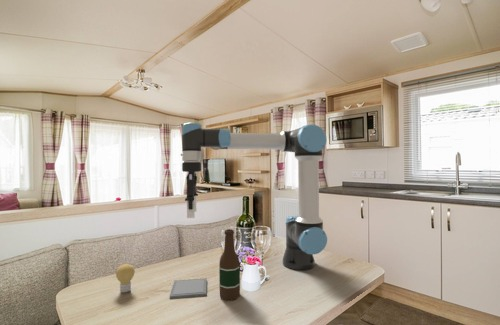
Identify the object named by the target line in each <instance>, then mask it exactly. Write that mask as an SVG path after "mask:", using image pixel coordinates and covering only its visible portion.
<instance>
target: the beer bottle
mask: <svg viewBox="0 0 500 325" xmlns="http://www.w3.org/2000/svg"><path fill="white" fill-rule="evenodd" d="M223 233H224V247H223V248H224V249H223V252H222V253H221V255H220V257H219V280H218V281H219V296H220V300H224V301H227V302H228V301H229V302H230V301H235V300H236V299H238V298H239V297H240V296H241V265H240V260H239V256H238V254H237V253H236V249H235V239H234V238H235V236H234V235H235V230H234V229H232V228H231V229H225V230H224V232H223Z"/></svg>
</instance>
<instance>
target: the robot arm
mask: <svg viewBox="0 0 500 325" xmlns="http://www.w3.org/2000/svg"><path fill="white" fill-rule="evenodd" d="M181 128H182V130H181V132H182V133H181V151H182V153H180V156H181V157H182V158H181V159H182V164H181V167H182V168H181V171H182V172H183V173H185V172H188V174H187V175H186V179H185V180H186V197H185V198H184V201H185V202H186V218H187V219H195V212H197V197H198V196H199V193H197V183H198V182H197V180H198V176H197V173H198V172H199V173H200V172H201V171H202V162H201V161H202V148H210V149H211V150H215V151H217V150H218V151H219V150H279V151H281V152H285V153H286V152H287V153H294V158H295V159H296V160H297V162H298V163H297V164H298V165H297V166H298V174H297V175H298V176H297V177H298V178H297V179H298V215H290V216H287V217H286V219H285V237H286V238H285V244H286V245H285V250H284V253H283V257H282V265H283V266H284V267H286V268H287V269H291V270H294V271H295V270H296V271H306V270H311V269H313V268H314V267H315V262H316V261H315V258H314V255H318V254H320V253H321V252H322V251H323V250H325V248H326V247H327V244H328V236H327V234H326V232H325V230H324V221H323V219H322V218H321V217H320V190H319V188H320V180H319V179H320V177H319V176H320V175H319V174H320V173H319V170H320V165H319V163H320V162H319V161H320V159H321V158H323V149H324V148H325V146H326V144H327V135H326V134H327V133H326V132H325V131H324V129H323V128H321V126H319V125H316V124H314V123H313V124H305V125H303V126H301V127H298V128H297V129H294V130H286V131H285V130H284V131H281V132H279V133H271V132H270V133H269V132H268V133H266V132H264V133H263V132H262V133H259V132H256V133H255V132H252V133H251V132H231V130H230V129H226V128H225V129H224V128H203V127H202V125H201V124H200V123H197V122H186V123H184V124H183V125H182V127H181ZM196 172H197V173H196Z"/></svg>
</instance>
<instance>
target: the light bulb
mask: <svg viewBox="0 0 500 325" xmlns="http://www.w3.org/2000/svg"><path fill="white" fill-rule="evenodd" d="M135 273H136V270H135V268H134V266H133V265H132V264H128V263H126V264H122V265H120V266H119V267H118V268H117V270H116V272H115V276H116V279H117V280H118V281H119V283H120V284H119V288H120V289H119V292H121V293H124V294H125V293H128V292H130V290H132V285H131V284H132V282H131V281H132V279H133V277H134V276H135Z"/></svg>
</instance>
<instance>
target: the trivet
mask: <svg viewBox="0 0 500 325" xmlns="http://www.w3.org/2000/svg"><path fill="white" fill-rule="evenodd" d="M207 281H208V279H207V277H205V278H203V277H202V278H192V279H177V280H174V281H173V283H172V288H171V291H170V293H169V299H180V298H191V297H204V296H207V283H208V282H207Z"/></svg>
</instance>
